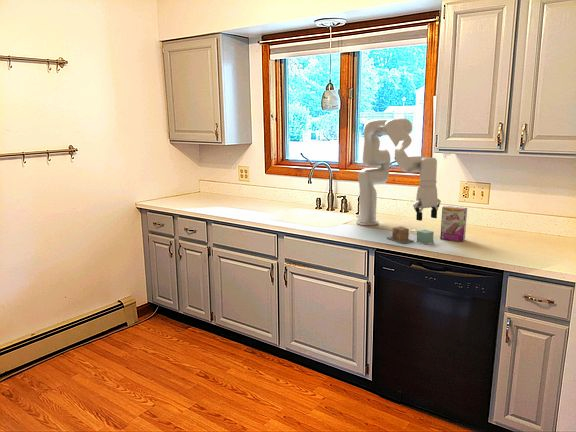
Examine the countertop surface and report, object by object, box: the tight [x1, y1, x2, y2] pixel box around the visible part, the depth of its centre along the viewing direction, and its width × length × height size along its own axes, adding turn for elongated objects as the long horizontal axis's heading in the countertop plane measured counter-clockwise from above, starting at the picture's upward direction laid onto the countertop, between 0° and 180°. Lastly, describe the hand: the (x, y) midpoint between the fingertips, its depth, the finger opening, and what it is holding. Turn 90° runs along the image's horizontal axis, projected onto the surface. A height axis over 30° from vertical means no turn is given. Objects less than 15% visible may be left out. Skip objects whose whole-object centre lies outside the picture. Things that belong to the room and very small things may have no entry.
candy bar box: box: [439, 205, 468, 243], centre depth 234 cm, size 11×5×16 cm, turn 59°
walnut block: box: [391, 226, 410, 241], centre depth 235 cm, size 6×6×6 cm
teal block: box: [416, 229, 434, 245], centre depth 231 cm, size 6×6×6 cm
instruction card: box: [407, 227, 418, 232], centre depth 256 cm, size 6×4×1 cm, turn 30°
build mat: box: [386, 236, 415, 245], centre depth 235 cm, size 12×7×1 cm, turn 30°
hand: (426, 219), depth 229 cm, fingers open, 9 cm apart
